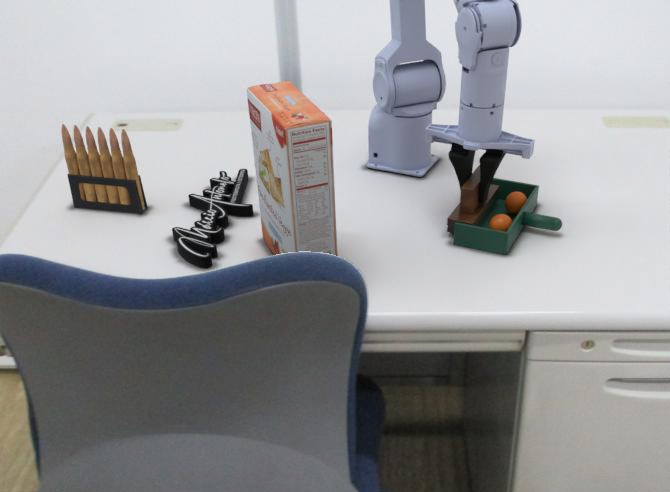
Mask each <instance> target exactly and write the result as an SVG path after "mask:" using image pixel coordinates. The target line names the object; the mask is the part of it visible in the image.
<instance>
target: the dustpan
mask: <svg viewBox="0 0 670 492" xmlns="http://www.w3.org/2000/svg"><path fill="white" fill-rule="evenodd" d="M491 184H492V185H498V186H499V192H498V200H497V202H496V203H495V205H494V206H493V208H492V209H491V210H490V212H489V213H488V215H487V216H486V218H485V219H484V221H483V222H482V223H481V225H480V226H479V227H478V226H473V225H467V224H462V223H457V222H456V223H455V228H454V233H453V245H456V246H461V247H465V248H470V249H476V250H479V251H484V252H489V253H495V254H500V255H507V253H508V252H509V251H510V249H511V247H512V245H513V244H514V242H515V241H516V239H517V237H518V236H519V234H520V232H521V231H522V229H523V228H524V226H526V227H530V228H536V229H540V230H541V229H542V230H546V231H552V232H558V231H560V230H561V229H562V228H563V221H562V219H560V218H559V217H557V216H550V215H544V214H539V213H534V212H533V211H534V209H535V208H536V207H537V205H538V197H539V190H540V185H539V184H532V183H527V182H521V181H515V180H511V179H510V180H509V179H503V178H497V177H493V180H492V182H491ZM512 192H521V193H523V194H524V195H525V196H526V197H527V201H526V202H525V204H524V206H523V207H522V209H521V210H520V212H519V213H518V215H514V214H511V213H509V212H508V211H507V209H506V207H505V200H506V198H507V196H508V195H509V194H510V193H512ZM498 214H505V215H507V216H509V217H510V218H511V220H512V222H513V223H512V224H511V226H510V227H509V229H508V231H507V232H504V231H499V230H493V229H490V228H489V225H490V221H491V219H492V218H493V217H494V216H496V215H498Z"/></svg>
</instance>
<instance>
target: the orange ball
mask: <svg viewBox="0 0 670 492" xmlns="http://www.w3.org/2000/svg"><path fill="white" fill-rule="evenodd" d="M526 201H527V197H526V196H525V195H524V194H523V193H521V192H512V193H510V194H509V195H508V196H507V198H506V200H505V207H506V209H507V211H508V212H509V213H511V214H514V215H518V213H519V212H520V210H521V209H522V207H523V206H524V204H525V202H526Z"/></svg>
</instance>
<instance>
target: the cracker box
mask: <svg viewBox="0 0 670 492" xmlns="http://www.w3.org/2000/svg"><path fill="white" fill-rule="evenodd" d="M246 96H247V106H248V113H249V114H248V117H249V125H250V131H251V141H252V151H253V159H254V169H255V177H256V178H255V179H256V186H257V187H256V188H257V196H258V207H259V213H260V214H259V215H260V224H261V233H262V239H263V241H264V243H265V244H266V245H267V247H268V248H269V250H270V251H271V253H272V254H273V256H275V255H276V254H281V253H288V252H299V251H311V252H323V253H329V254H333V255H336V256H338V238H337V236H338V235H337V216H336V213H337V212H336V211H337V210H336V191H335V189H336V188H335V169H334V168H335V167H334V166H335V165H334V144H333V143H334V141H333V124H332V123H333V122H332V119H331V118H330V117H329V116H328V115H327V114H326V113H325V112H323V111H322V110H321V109H320V108H319V107H318V106H317V105H316V104H315V103H314V102H313V101H311V100H310V98H308V97H307V96H306V95H305V94H304V93H303V92H302V91H301V90H300V89H299V88H298V87H296V86H295V85H294V84H293V82H291V81H290V80H285V81H280V82H274V83H273V82H272V83H262V84H257V85H252V86H249V87H246Z"/></svg>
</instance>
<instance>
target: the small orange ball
mask: <svg viewBox="0 0 670 492" xmlns="http://www.w3.org/2000/svg"><path fill="white" fill-rule="evenodd" d="M512 223H513V222H512V220H511V218H510V217H509V216H507V215H505V214H498V215H496V216H494V217H493V218H492V219H491V221H490V225H489V228H490V229H493V230H499V231H504V232H507V231H508V229H509V227H510V226H511V224H512Z"/></svg>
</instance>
